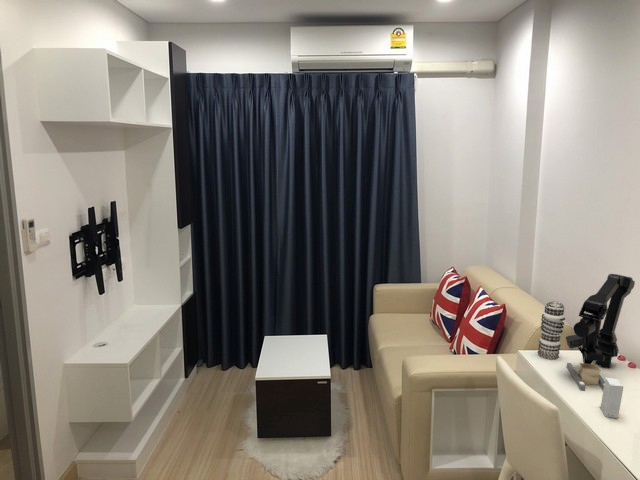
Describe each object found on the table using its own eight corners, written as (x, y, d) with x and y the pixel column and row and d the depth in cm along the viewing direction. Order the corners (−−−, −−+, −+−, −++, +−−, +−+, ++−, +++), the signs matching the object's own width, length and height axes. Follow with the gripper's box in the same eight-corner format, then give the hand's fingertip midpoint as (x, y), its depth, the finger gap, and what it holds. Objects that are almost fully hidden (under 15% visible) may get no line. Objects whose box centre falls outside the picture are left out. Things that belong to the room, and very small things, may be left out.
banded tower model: (551, 352, 233) (559, 299, 228) (563, 362, 224) (571, 306, 219) (532, 353, 232) (539, 299, 226) (543, 362, 223) (551, 306, 217)
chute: (563, 369, 218) (564, 361, 217) (594, 372, 216) (596, 365, 215) (577, 392, 199) (578, 384, 198) (611, 396, 196) (613, 388, 196)
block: (577, 377, 209) (579, 362, 207) (593, 378, 208) (596, 364, 206) (581, 382, 204) (583, 368, 203) (597, 384, 203) (600, 370, 202)
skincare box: (618, 418, 181) (624, 386, 179) (605, 417, 182) (610, 385, 180) (612, 409, 187) (618, 378, 185) (599, 408, 188) (604, 377, 186)
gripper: (563, 320, 216) (558, 355, 219) (575, 337, 198) (570, 376, 201) (592, 323, 214) (586, 358, 217) (607, 341, 196) (601, 379, 199)
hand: (585, 367), depth 209 cm, fingers closed
